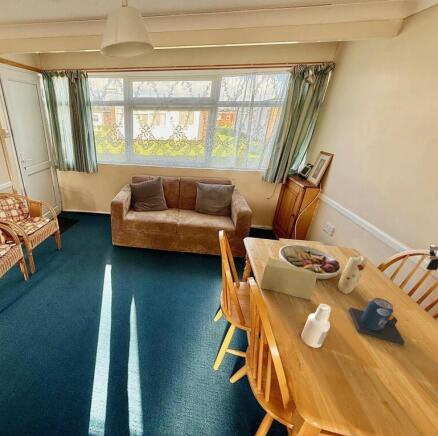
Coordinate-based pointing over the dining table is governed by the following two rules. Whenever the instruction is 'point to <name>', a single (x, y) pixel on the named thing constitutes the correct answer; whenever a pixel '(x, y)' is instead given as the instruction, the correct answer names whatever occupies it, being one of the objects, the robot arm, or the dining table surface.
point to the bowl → (310, 260)
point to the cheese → (288, 279)
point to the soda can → (377, 313)
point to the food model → (351, 274)
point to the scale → (386, 333)
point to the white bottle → (317, 326)
